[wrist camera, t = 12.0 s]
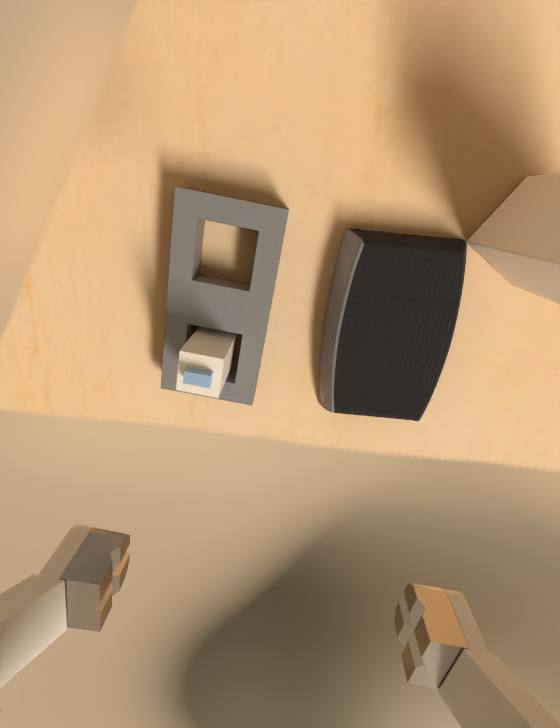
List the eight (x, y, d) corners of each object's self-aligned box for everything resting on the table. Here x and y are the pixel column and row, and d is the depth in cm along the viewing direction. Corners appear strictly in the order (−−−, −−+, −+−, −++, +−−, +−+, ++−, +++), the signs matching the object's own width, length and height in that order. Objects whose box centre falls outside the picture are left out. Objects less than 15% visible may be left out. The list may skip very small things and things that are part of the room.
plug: (201, 323, 41) (176, 354, 33) (237, 331, 41) (221, 363, 33) (197, 357, 42) (172, 395, 34) (232, 364, 43) (216, 403, 34)
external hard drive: (312, 400, 45) (313, 418, 41) (337, 226, 37) (342, 229, 33) (423, 412, 44) (434, 432, 41) (471, 240, 37) (491, 244, 33)
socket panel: (184, 187, 36) (174, 186, 33) (288, 209, 36) (287, 209, 33) (169, 376, 44) (160, 388, 41) (255, 392, 44) (252, 405, 41)
